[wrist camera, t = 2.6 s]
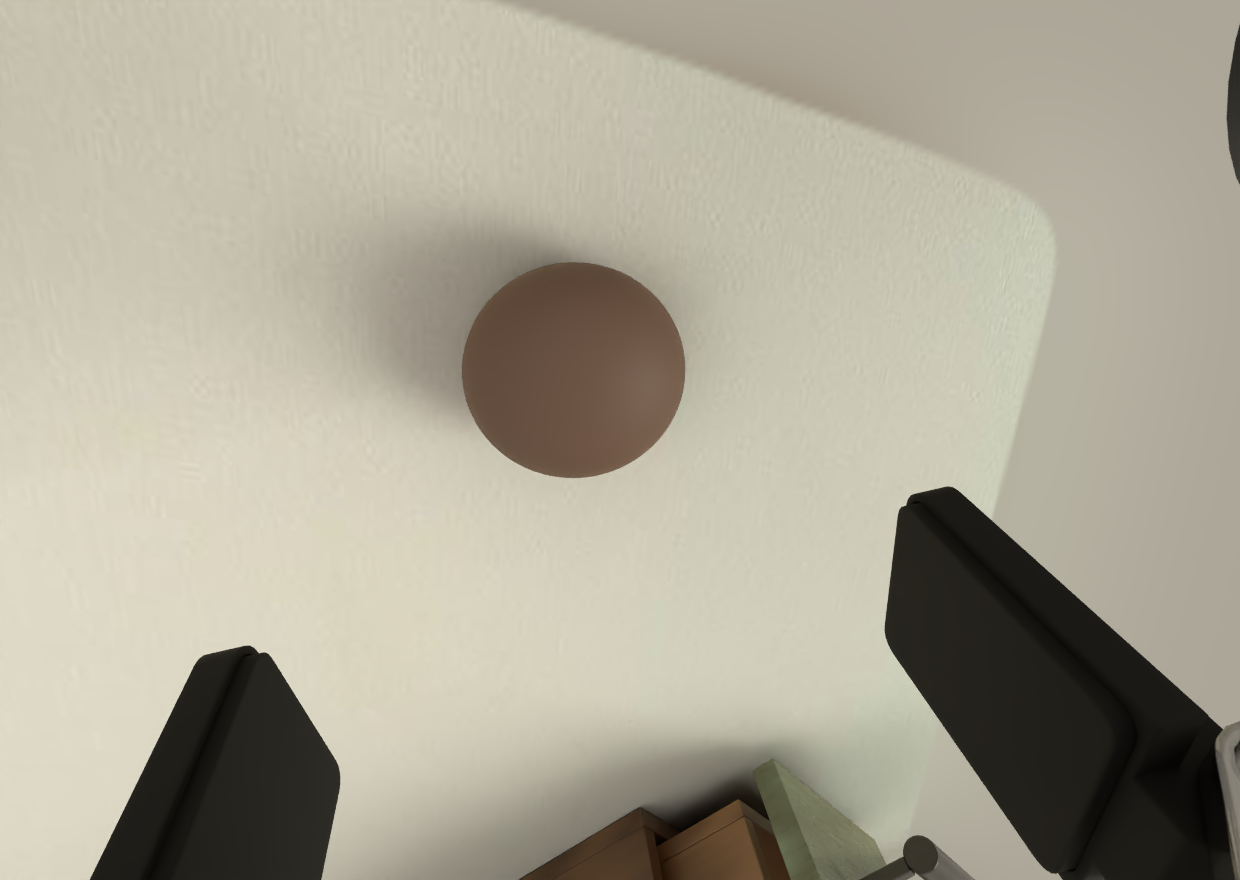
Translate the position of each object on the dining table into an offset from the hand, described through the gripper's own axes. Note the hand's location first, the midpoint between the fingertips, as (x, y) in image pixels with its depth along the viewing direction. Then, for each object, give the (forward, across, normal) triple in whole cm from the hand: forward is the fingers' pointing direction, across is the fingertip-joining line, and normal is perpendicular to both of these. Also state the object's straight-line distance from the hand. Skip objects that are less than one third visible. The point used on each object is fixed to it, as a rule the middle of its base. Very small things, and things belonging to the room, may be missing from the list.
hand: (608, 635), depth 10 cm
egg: (+11, -1, 0) cm, 11 cm away
